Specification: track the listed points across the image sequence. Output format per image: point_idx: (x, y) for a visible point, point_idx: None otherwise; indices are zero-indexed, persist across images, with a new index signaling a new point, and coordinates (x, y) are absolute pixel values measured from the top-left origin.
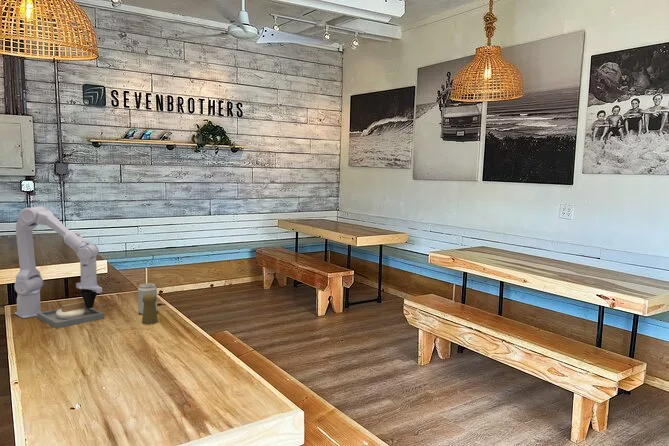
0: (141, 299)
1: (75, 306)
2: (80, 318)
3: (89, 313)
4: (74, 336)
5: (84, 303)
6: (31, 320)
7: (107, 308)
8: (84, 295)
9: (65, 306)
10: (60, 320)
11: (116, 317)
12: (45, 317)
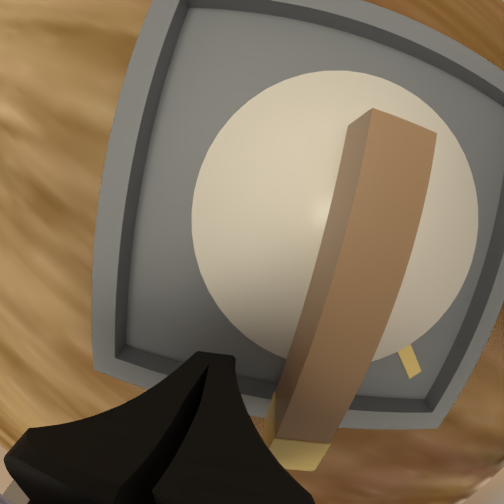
0: (19, 489)
1: (322, 283)
2: (108, 168)
3: (252, 354)
4: (4, 41)
5: (287, 396)
6: (497, 58)
7: (298, 475)
8: (140, 450)
9: (365, 139)
10: (283, 69)
11: (83, 385)
12: (399, 14)
